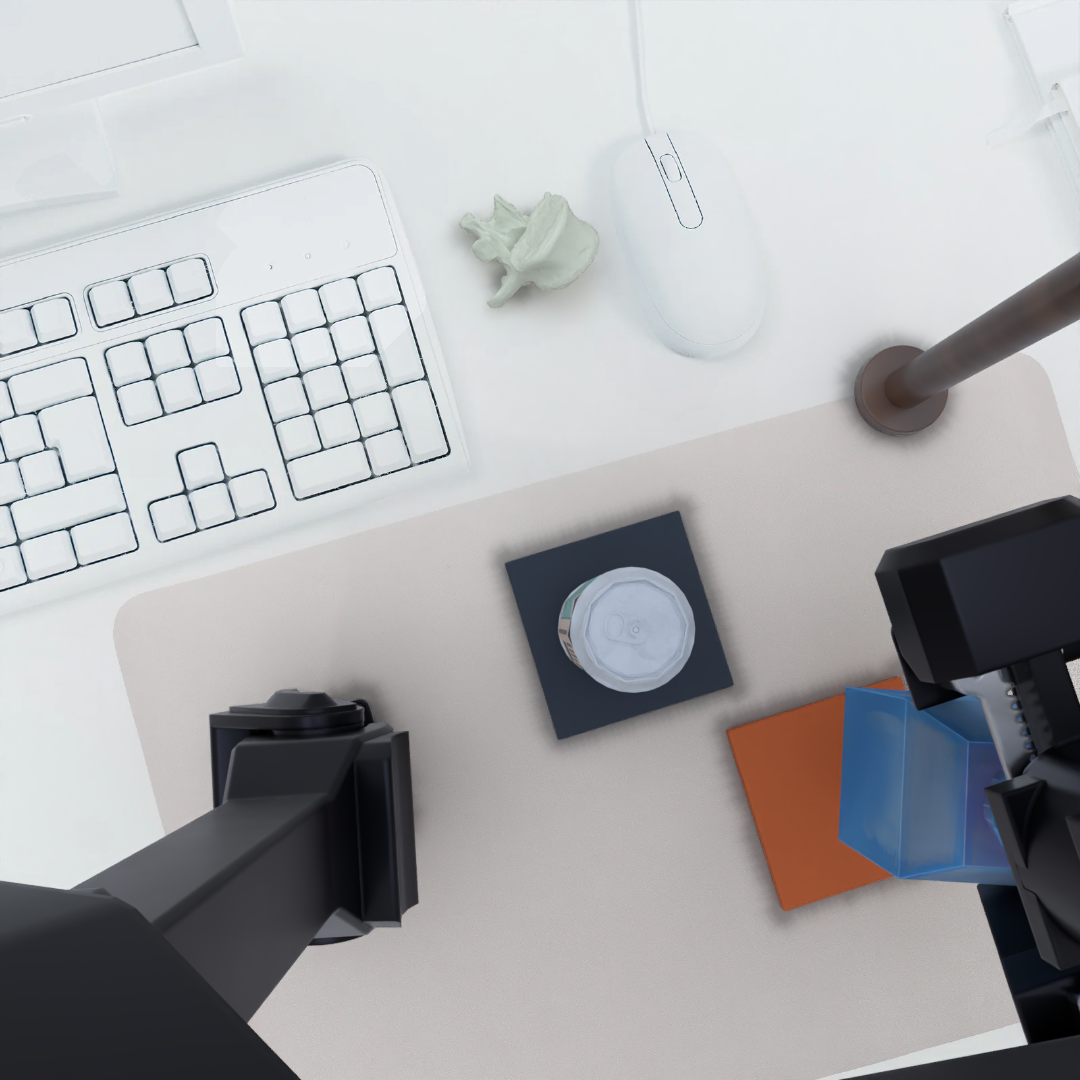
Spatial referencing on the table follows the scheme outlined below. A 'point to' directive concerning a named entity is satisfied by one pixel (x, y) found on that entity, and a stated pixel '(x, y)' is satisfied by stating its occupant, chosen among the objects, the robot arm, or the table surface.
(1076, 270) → the marker post
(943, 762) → the perfume bottle
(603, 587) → the beer can
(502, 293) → the vertebra
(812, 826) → the terracotta mat
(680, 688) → the slate mat
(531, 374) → the table surface
